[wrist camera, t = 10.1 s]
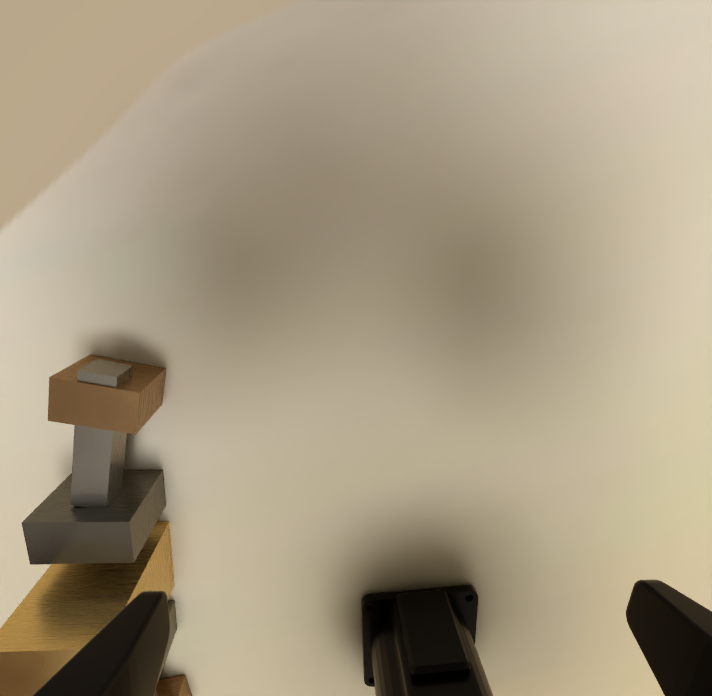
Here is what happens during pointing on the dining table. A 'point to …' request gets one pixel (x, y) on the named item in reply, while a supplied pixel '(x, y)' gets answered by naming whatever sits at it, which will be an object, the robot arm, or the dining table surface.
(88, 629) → the coupler
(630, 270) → the dining table surface
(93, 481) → the shaft rig
